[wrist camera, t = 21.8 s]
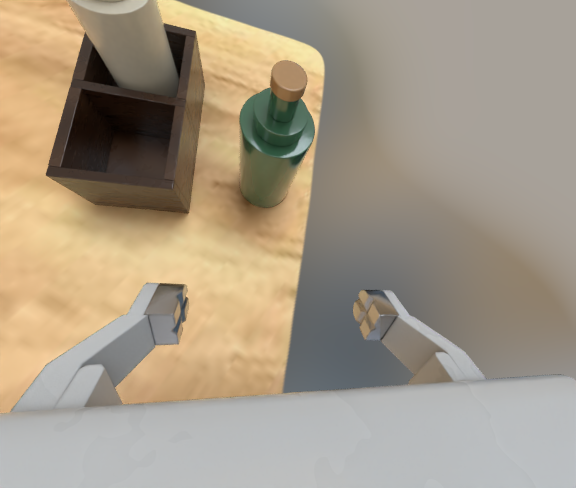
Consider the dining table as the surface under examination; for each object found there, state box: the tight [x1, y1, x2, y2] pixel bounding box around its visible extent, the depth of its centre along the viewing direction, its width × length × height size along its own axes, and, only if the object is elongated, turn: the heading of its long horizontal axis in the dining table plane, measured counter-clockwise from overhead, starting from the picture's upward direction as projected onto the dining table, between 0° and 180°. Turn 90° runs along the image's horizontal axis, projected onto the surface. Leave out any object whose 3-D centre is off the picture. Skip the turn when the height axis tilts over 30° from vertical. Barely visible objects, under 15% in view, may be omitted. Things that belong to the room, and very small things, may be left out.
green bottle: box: [240, 60, 315, 208], centre depth 19 cm, size 6×6×14 cm
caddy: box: [46, 23, 205, 213], centre depth 21 cm, size 16×9×6 cm, turn 179°
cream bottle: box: [66, 0, 179, 98], centre depth 18 cm, size 6×6×14 cm
